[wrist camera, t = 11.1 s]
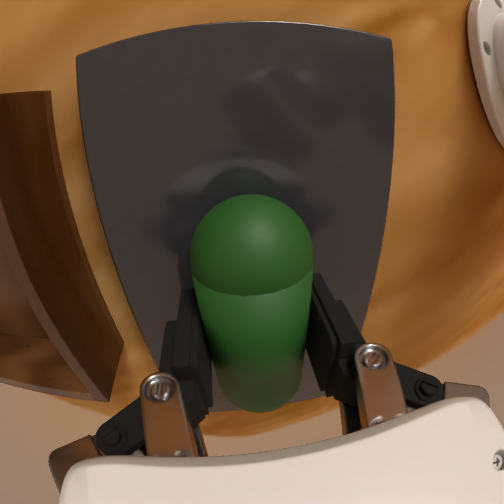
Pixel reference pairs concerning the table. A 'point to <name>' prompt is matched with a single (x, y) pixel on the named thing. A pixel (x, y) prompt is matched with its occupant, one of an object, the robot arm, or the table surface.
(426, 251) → the table surface
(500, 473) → the robot arm
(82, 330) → the brown wooden tray
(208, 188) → the board
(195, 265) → the cucumber
